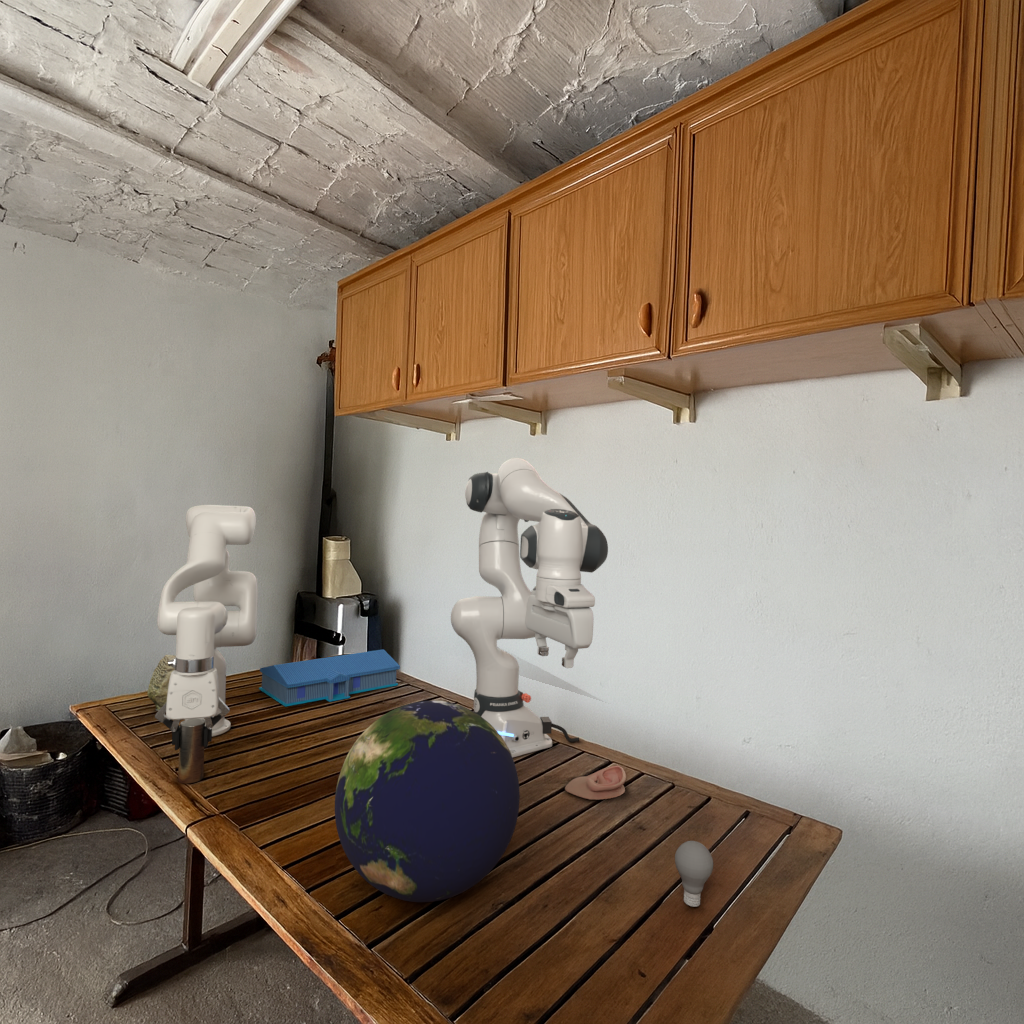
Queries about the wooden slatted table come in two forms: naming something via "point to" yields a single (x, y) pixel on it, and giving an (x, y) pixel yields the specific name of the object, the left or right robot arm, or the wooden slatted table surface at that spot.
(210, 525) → the left robot arm
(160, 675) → the fossil
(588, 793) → the rubber human ear
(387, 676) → the model building
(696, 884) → the light bulb
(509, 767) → the globe
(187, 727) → the tin
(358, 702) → the wooden slatted table surface
